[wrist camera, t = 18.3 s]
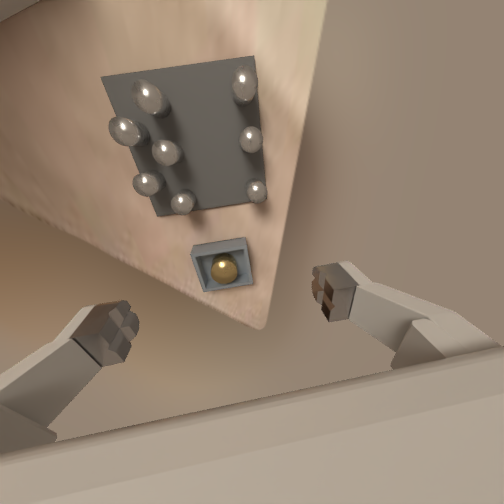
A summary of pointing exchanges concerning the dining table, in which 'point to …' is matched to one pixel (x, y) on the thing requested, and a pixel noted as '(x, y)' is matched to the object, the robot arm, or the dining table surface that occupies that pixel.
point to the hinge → (13, 7)
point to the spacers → (172, 151)
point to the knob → (224, 268)
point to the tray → (207, 252)
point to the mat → (195, 132)
